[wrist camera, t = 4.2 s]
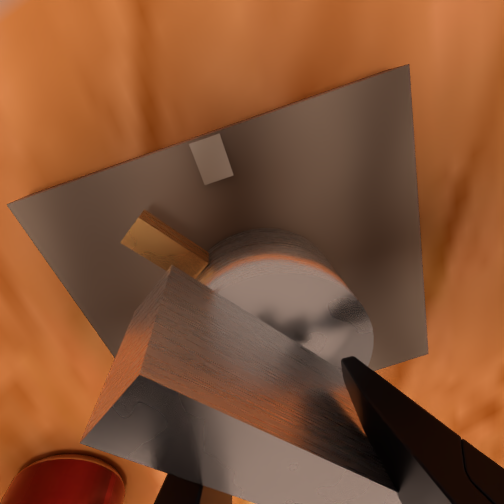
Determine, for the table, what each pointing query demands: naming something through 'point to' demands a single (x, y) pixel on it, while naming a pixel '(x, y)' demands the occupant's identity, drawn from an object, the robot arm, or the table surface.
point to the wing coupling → (242, 372)
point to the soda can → (66, 482)
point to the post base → (258, 207)
